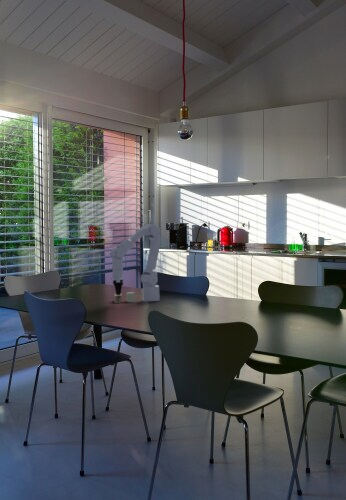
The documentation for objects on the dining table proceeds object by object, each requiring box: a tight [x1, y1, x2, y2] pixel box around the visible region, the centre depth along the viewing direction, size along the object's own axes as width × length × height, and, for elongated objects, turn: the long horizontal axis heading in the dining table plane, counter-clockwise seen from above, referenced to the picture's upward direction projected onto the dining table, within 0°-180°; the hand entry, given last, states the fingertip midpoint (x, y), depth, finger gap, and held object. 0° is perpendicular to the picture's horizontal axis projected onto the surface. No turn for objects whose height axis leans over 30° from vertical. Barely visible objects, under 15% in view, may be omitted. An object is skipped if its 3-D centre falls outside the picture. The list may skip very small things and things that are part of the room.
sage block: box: [125, 291, 136, 303], centre depth 298 cm, size 4×4×5 cm
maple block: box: [113, 293, 123, 304], centre depth 298 cm, size 4×4×7 cm
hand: (118, 293), depth 289 cm, fingers open, 7 cm apart
